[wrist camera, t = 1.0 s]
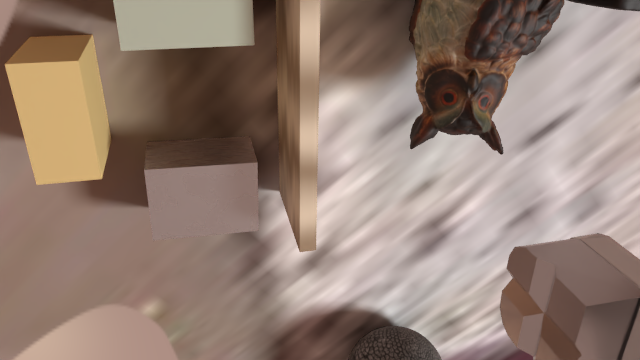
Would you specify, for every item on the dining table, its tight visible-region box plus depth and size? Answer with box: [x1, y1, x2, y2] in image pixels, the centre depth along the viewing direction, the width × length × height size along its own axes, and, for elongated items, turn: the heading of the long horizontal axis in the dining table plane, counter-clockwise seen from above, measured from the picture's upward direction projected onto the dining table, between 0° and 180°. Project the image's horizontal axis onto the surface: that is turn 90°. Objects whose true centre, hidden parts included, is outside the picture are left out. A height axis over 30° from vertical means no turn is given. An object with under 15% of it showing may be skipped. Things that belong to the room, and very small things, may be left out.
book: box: [5, 35, 112, 185], centre depth 36 cm, size 4×8×6 cm, turn 179°
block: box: [144, 136, 259, 240], centre depth 43 cm, size 6×8×5 cm
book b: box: [113, 0, 254, 51], centre depth 35 cm, size 4×8×6 cm, turn 89°
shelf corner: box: [276, 0, 320, 252], centre depth 36 cm, size 26×15×9 cm, turn 179°
